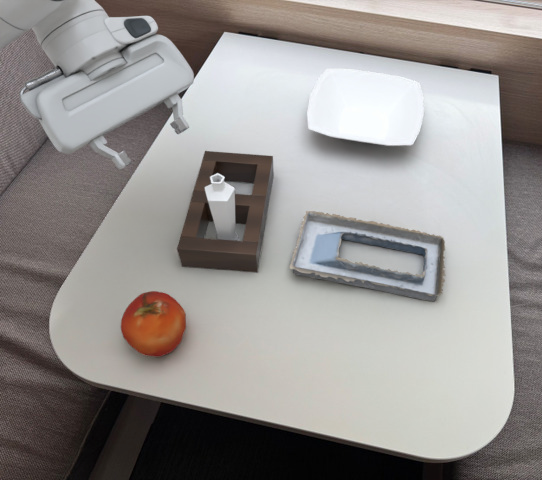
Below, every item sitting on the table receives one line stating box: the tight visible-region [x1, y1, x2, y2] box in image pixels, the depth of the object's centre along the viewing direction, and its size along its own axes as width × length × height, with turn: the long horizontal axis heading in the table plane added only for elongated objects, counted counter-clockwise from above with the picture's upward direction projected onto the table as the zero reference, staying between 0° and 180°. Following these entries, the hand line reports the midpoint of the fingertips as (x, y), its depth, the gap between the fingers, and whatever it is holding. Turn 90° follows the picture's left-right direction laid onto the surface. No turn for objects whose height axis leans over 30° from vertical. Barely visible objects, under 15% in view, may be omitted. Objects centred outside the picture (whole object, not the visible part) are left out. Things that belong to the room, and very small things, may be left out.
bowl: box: [306, 68, 425, 147], centre depth 107 cm, size 22×23×6 cm
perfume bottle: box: [205, 173, 239, 241], centre depth 83 cm, size 5×4×15 cm
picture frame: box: [289, 210, 446, 302], centre depth 87 cm, size 13×25×3 cm, turn 80°
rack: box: [176, 150, 275, 273], centre depth 90 cm, size 22×12×5 cm, turn 176°
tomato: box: [120, 290, 187, 358], centre depth 75 cm, size 9×9×8 cm
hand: (155, 148), depth 68 cm, fingers open, 8 cm apart
